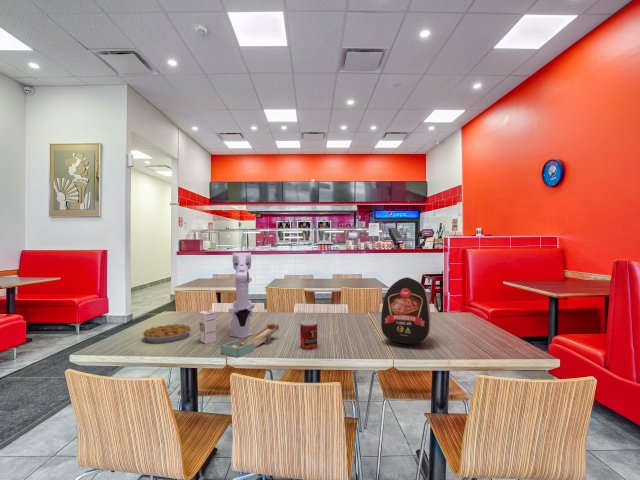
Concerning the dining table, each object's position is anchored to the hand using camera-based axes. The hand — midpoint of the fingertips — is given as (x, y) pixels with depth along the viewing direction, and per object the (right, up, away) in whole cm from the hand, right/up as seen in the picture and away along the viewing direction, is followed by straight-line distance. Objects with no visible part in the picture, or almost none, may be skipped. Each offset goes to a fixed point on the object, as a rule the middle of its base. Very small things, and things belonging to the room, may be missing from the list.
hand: (242, 326), depth 151 cm
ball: (0, -6, -15) cm, 16 cm away
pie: (-41, -9, +11) cm, 43 cm away
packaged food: (+77, -7, -1) cm, 77 cm away
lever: (+6, -6, +3) cm, 9 cm away
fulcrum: (+9, -8, +1) cm, 12 cm away
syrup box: (-17, -9, +3) cm, 20 cm away
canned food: (+32, -8, -7) cm, 33 cm away
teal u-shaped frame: (+1, -8, -12) cm, 15 cm away
